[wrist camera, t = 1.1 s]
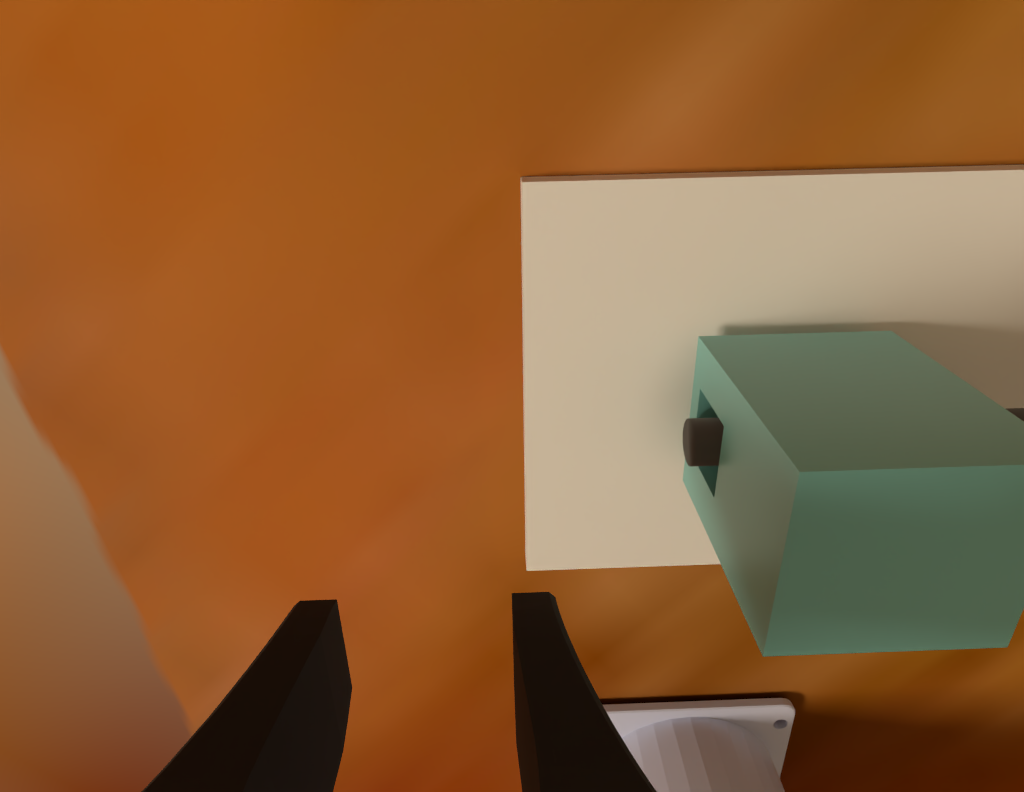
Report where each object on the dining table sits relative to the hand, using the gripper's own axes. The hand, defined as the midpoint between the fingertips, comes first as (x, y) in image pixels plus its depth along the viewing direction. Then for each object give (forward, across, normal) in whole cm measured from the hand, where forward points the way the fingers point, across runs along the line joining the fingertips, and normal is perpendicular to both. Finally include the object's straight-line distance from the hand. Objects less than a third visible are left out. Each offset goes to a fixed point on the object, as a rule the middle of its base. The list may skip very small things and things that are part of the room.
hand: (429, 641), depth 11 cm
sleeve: (+8, -9, 0) cm, 12 cm away
